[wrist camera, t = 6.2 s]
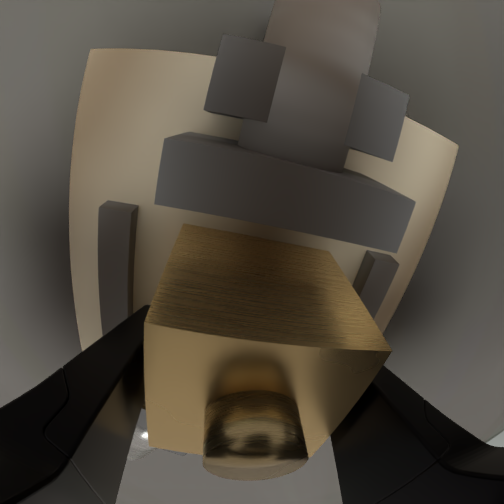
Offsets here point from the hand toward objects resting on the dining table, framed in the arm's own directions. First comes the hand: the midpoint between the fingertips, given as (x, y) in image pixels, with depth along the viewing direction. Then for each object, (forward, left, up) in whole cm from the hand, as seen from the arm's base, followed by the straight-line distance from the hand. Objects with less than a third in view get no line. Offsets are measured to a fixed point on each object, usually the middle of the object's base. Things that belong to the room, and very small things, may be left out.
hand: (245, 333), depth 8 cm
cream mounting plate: (0, 0, -3) cm, 3 cm away
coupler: (0, 0, -2) cm, 2 cm away
